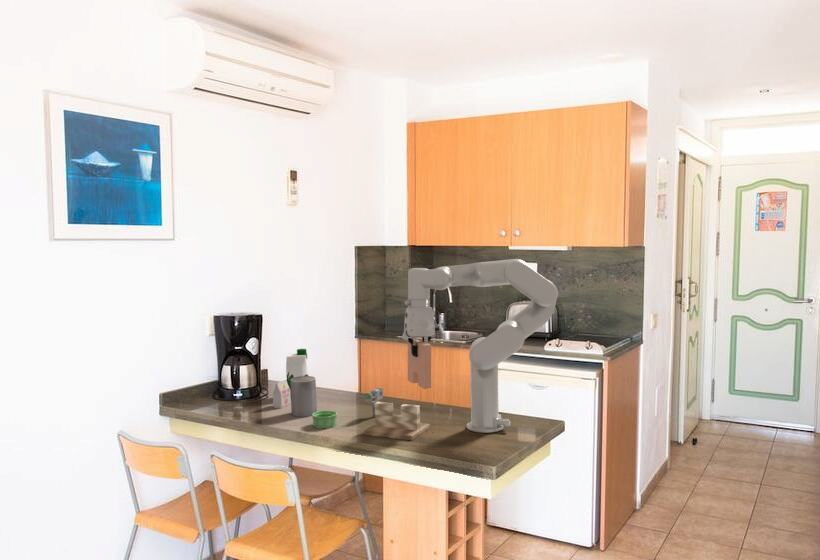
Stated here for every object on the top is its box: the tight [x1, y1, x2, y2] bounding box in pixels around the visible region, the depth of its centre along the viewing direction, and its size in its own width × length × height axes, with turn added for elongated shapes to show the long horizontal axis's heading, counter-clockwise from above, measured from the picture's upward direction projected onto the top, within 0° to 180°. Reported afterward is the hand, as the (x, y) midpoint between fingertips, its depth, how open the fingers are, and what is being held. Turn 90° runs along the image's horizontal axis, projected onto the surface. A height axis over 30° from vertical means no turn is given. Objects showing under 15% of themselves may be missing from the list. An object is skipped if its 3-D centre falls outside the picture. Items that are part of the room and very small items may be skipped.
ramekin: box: [311, 410, 338, 429], centre depth 249 cm, size 9×9×4 cm
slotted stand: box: [363, 401, 431, 441], centre depth 239 cm, size 18×15×10 cm
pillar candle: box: [290, 375, 318, 418], centre depth 265 cm, size 10×10×15 cm
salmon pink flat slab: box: [407, 339, 432, 389], centre depth 242 cm, size 14×2×15 cm, turn 24°
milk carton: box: [285, 348, 309, 395], centre depth 293 cm, size 9×9×20 cm
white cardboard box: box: [272, 379, 291, 409], centre depth 278 cm, size 4×7×10 cm, turn 155°
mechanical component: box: [364, 387, 384, 418], centre depth 258 cm, size 3×10×10 cm, turn 152°
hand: (419, 355), depth 242 cm, fingers closed on salmon pink flat slab, 2 cm apart
